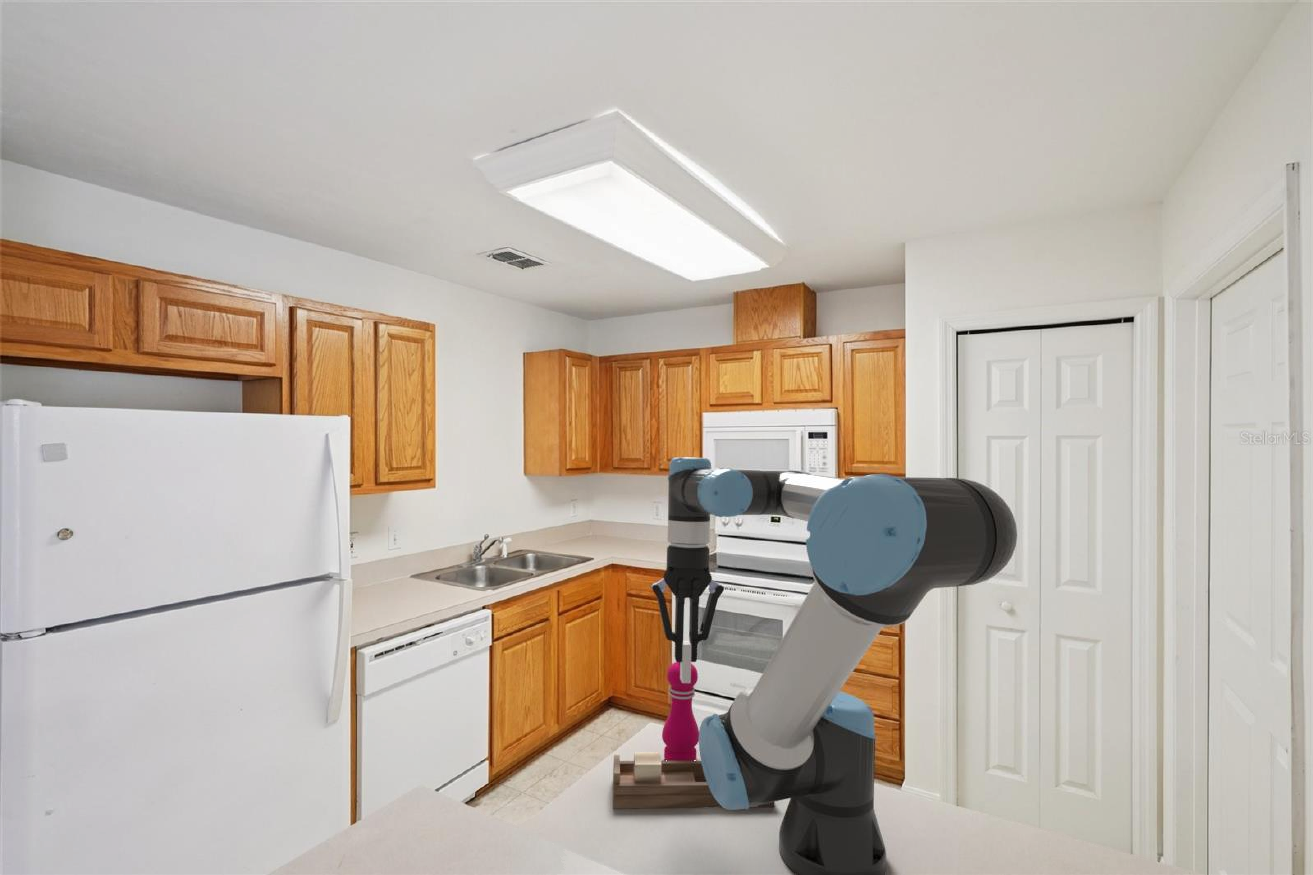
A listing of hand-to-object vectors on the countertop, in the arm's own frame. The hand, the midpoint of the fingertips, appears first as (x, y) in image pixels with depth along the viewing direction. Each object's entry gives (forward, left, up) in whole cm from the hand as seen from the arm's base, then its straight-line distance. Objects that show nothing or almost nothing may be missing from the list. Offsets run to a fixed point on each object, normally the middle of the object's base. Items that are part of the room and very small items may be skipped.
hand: (685, 680), depth 107 cm
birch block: (0, +6, -17) cm, 18 cm away
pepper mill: (+12, -1, -19) cm, 23 cm away
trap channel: (0, -1, -19) cm, 19 cm away
